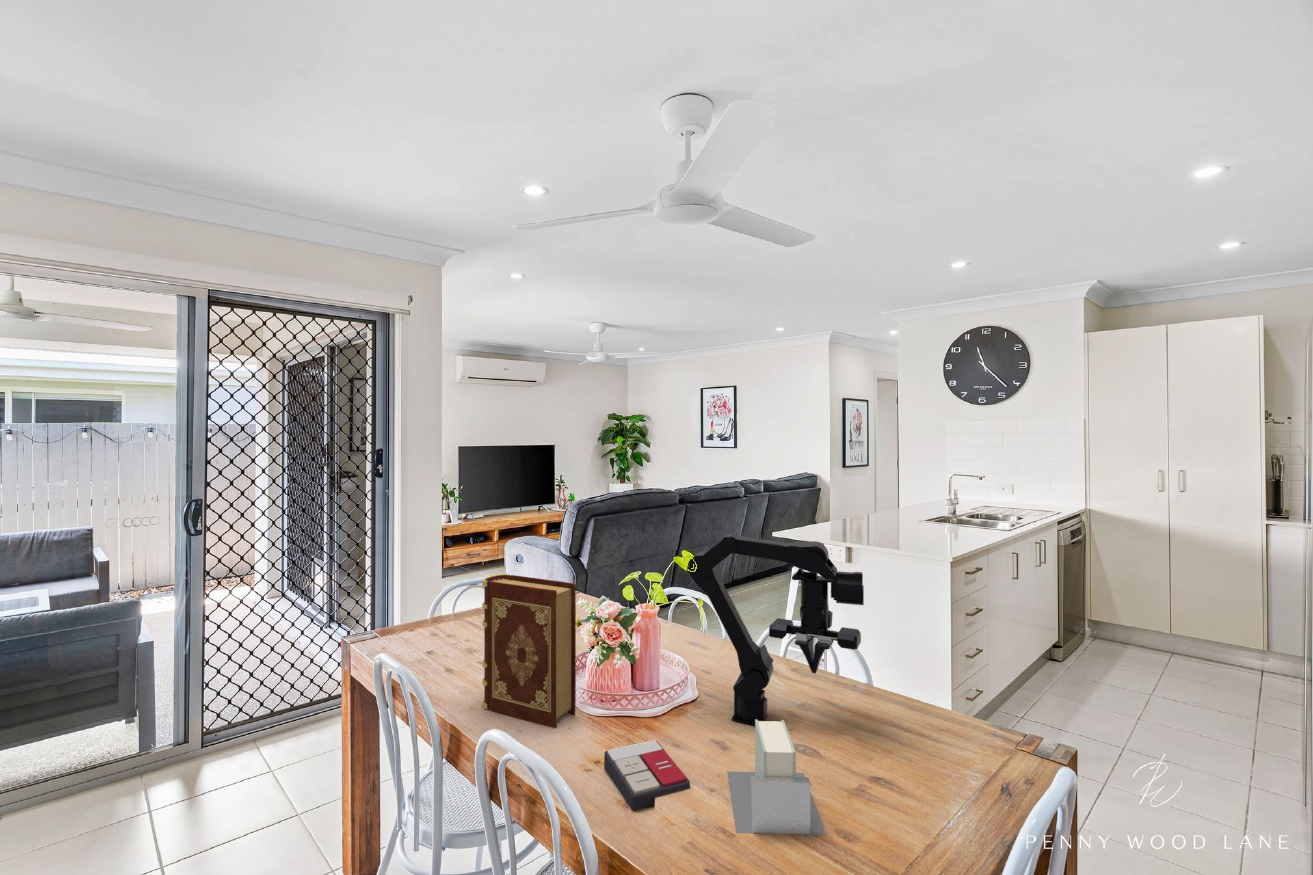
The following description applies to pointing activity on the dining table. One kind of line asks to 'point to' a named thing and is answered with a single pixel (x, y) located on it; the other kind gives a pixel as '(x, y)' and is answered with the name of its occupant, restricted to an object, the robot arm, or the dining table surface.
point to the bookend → (780, 805)
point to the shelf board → (742, 804)
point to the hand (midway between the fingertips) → (814, 672)
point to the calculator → (643, 773)
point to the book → (773, 750)
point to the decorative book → (529, 647)
